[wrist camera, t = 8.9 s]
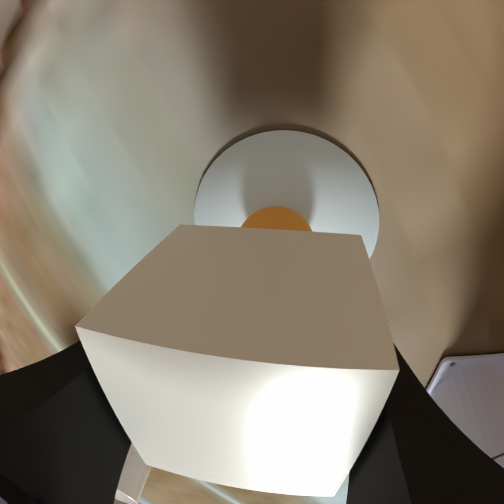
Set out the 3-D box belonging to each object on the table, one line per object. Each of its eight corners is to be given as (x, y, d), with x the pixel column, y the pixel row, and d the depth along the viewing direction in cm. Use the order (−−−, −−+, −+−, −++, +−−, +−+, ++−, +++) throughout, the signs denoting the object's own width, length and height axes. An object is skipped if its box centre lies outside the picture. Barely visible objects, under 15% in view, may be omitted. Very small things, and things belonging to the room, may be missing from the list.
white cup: (96, 399, 31) (57, 461, 22) (141, 401, 28) (100, 477, 19) (134, 436, 33) (104, 495, 25) (180, 441, 31) (152, 510, 22)
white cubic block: (361, 234, 9) (399, 370, 4) (337, 369, 12) (333, 496, 7) (180, 224, 10) (74, 326, 5) (197, 354, 13) (145, 464, 8)
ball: (315, 270, 12) (314, 294, 16) (314, 190, 14) (314, 227, 17) (223, 270, 13) (241, 293, 16) (231, 192, 14) (247, 228, 18)
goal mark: (387, 137, 13) (388, 137, 13) (363, 307, 18) (364, 309, 18) (189, 131, 15) (187, 132, 15) (203, 294, 20) (202, 296, 19)
